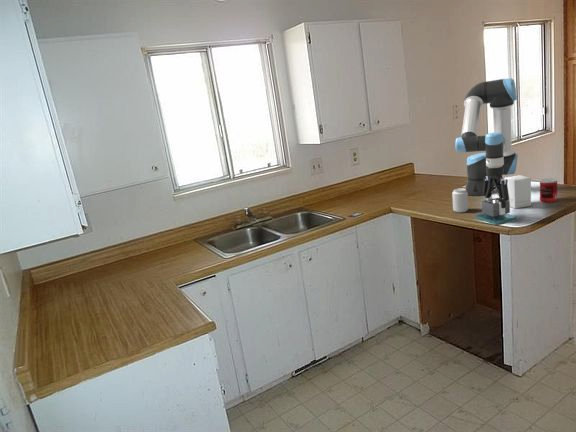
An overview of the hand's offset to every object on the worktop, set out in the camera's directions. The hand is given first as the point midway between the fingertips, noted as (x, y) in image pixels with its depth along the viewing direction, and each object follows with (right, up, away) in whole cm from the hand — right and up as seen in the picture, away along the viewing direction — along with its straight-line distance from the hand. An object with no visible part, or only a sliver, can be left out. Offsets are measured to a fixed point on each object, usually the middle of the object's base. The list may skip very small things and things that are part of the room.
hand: (495, 212), depth 206 cm
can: (-9, +1, +21) cm, 23 cm away
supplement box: (+19, +4, +16) cm, 25 cm away
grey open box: (0, 0, 0) cm, 0 cm away
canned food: (+35, +6, +16) cm, 39 cm away
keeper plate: (0, -3, +1) cm, 3 cm away
